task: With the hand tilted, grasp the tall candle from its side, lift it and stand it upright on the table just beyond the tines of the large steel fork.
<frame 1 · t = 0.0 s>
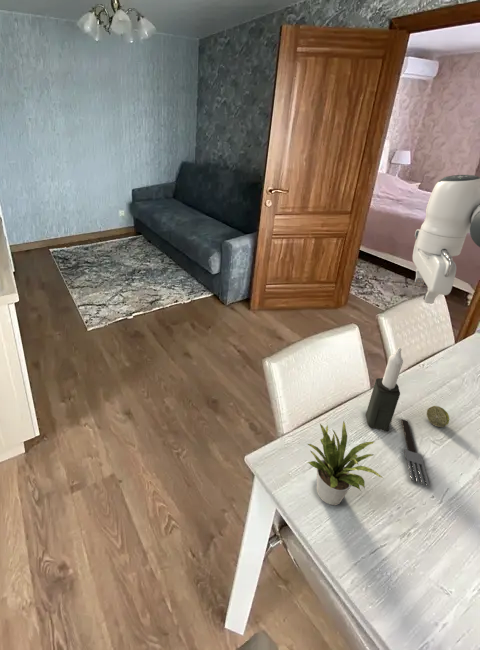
hand: (423, 292, 88), 36 cm above the table, tool pointing down, fingers open, 8 cm apart
lime: (435, 422, 94), on the table
house plant: (335, 495, 76), on the table
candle: (376, 422, 94), on the table
fork: (411, 450, 87), on the table
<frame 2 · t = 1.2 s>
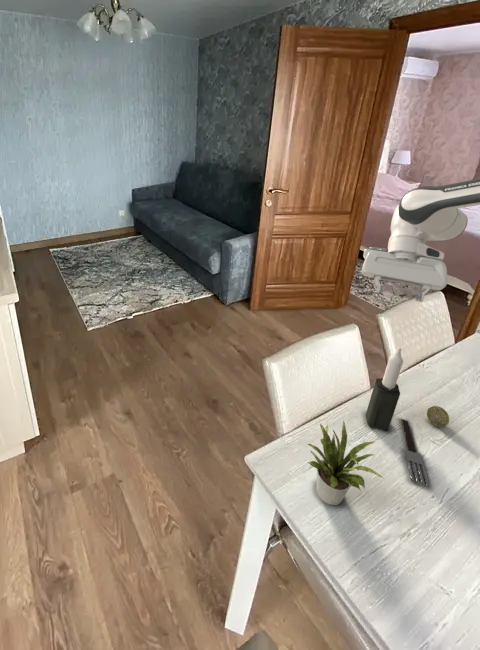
hand: (399, 296, 95), 31 cm above the table, tool tilted 45°, fingers open, 8 cm apart
nothing on the table moved.
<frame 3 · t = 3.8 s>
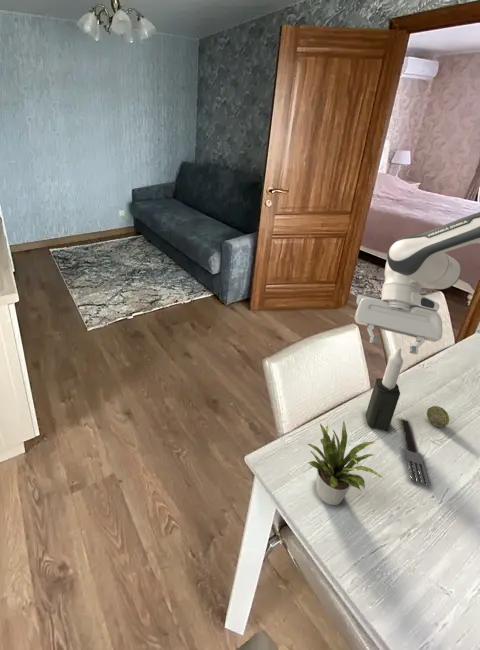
hand: (392, 348, 92), 20 cm above the table, tool tilted 45°, fingers open, 8 cm apart
nothing on the table moved.
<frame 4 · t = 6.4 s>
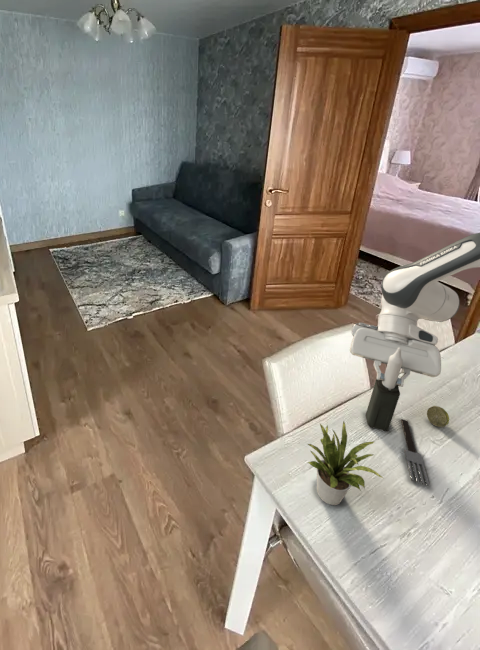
hand: (389, 383, 88), 14 cm above the table, tool tilted 45°, fingers closed on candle, 3 cm apart
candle: (376, 422, 94), on the table, touching gripper
everything else where it was.
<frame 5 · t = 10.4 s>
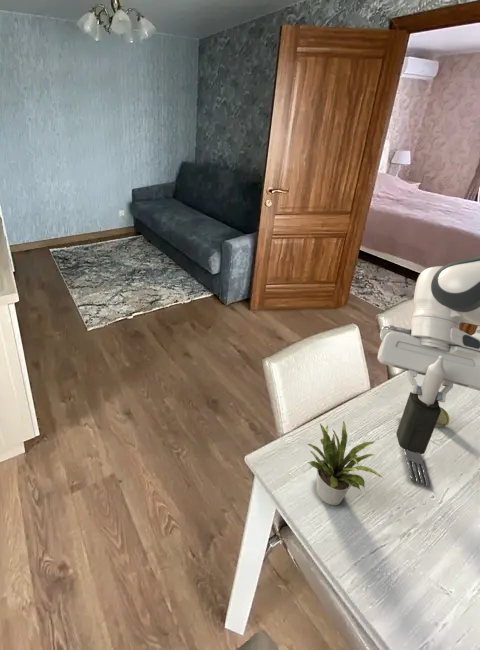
hand: (427, 397, 74), 22 cm above the table, tool tilted 45°, fingers closed on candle, 3 cm apart
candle: (409, 443, 80), point 7 cm above the table, touching gripper
everything else where it was.
when the fingers open (14 cm above the table, at t = 14.7 s): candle stays where it is, on the table.
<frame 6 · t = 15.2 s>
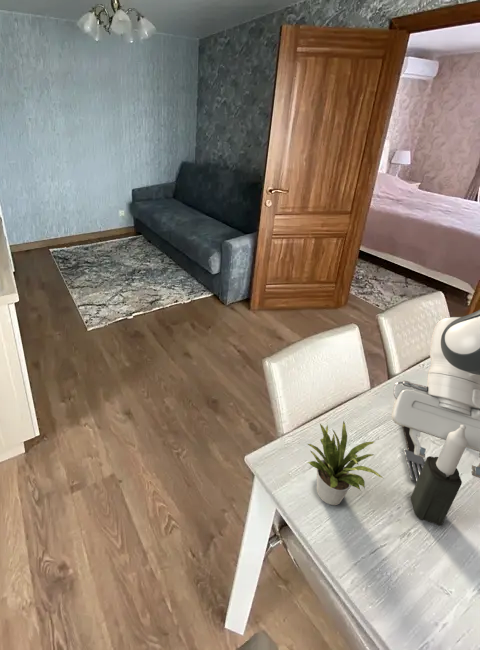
hand: (447, 466, 68), 15 cm above the table, tool tilted 45°, fingers open, 8 cm apart
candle: (425, 510, 74), on the table
everything else where it was.
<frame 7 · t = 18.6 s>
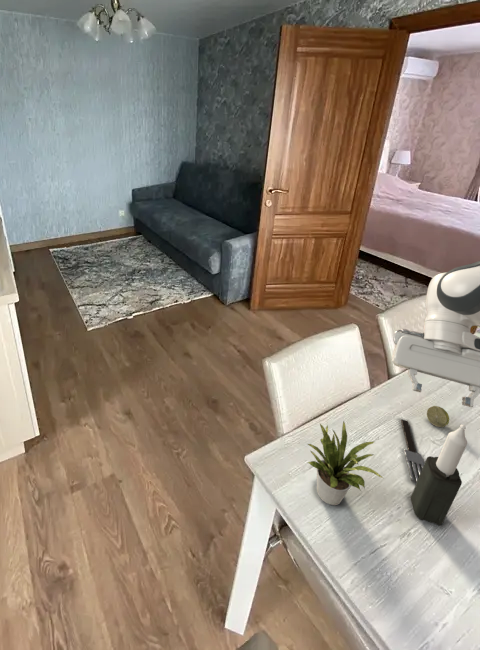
hand: (441, 398, 77), 19 cm above the table, tool tilted 45°, fingers open, 8 cm apart
nothing on the table moved.
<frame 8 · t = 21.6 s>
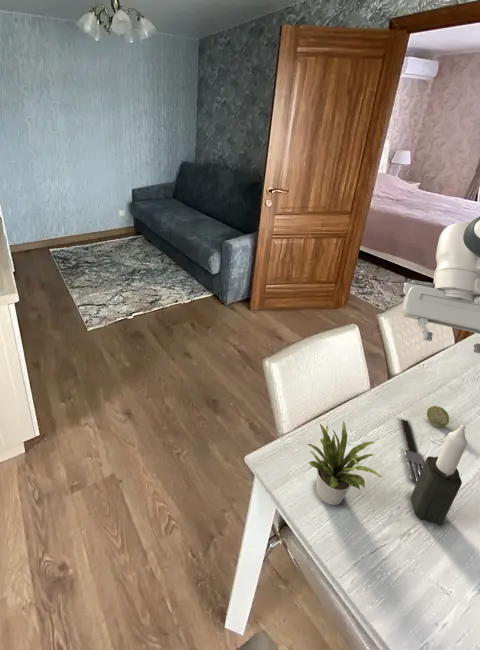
hand: (452, 346, 76), 31 cm above the table, tool tilted 45°, fingers open, 8 cm apart
nothing on the table moved.
at the end: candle inside the target area on the table beside the fork (0.8 cm from its centre), on the table; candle tilted 0°; the gripper is holding nothing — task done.
